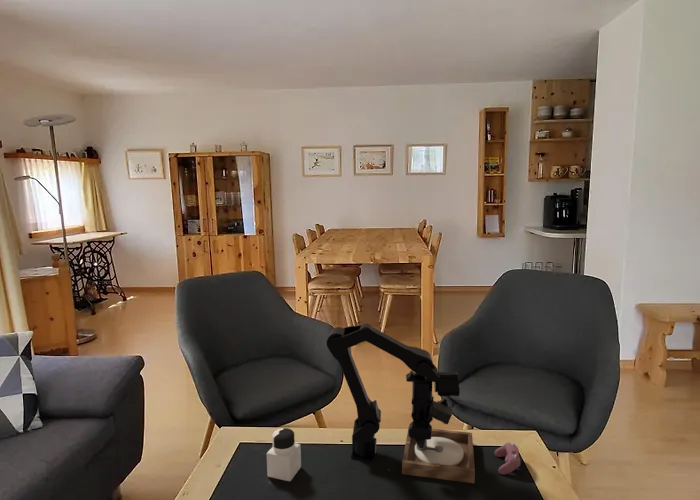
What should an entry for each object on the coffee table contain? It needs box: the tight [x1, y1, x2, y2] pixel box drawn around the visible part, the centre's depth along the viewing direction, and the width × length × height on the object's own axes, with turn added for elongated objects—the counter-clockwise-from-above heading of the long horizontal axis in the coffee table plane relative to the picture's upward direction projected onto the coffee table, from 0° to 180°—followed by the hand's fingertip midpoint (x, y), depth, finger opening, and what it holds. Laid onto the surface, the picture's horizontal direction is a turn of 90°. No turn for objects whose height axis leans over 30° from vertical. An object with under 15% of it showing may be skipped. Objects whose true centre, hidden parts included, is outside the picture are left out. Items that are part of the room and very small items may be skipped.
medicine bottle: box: [266, 427, 302, 482], centre depth 126 cm, size 7×7×12 cm
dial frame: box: [401, 427, 476, 484], centre depth 132 cm, size 19×19×4 cm
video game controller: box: [493, 442, 521, 475], centre depth 128 cm, size 10×5×7 cm, turn 169°
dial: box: [415, 437, 464, 466], centre depth 132 cm, size 14×14×7 cm
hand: (421, 444), depth 133 cm, fingers closed on dial, 3 cm apart
